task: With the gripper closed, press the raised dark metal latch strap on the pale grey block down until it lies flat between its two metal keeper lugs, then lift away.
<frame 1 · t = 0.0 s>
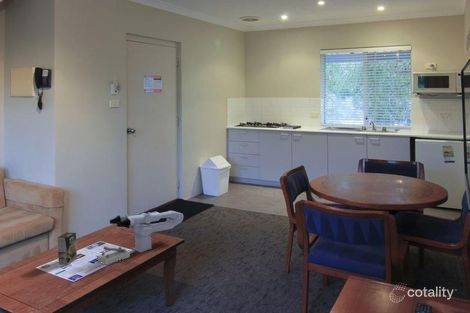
hand: (113, 223, 234), 22 cm above the table, tool horizontal, fingers open, 7 cm apart
latch block: (113, 258, 236), on the table
strap: (114, 249, 236), point 6 cm above the table, hinge at 20.0°
coffee box: (68, 261, 232), on the table
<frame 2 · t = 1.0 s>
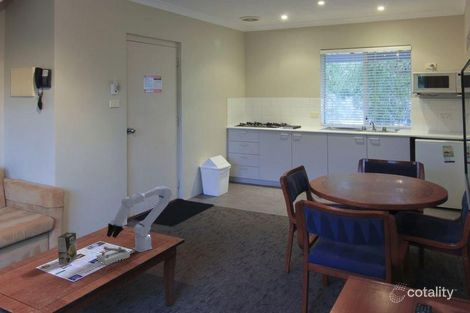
hand: (111, 236, 237), 13 cm above the table, tool tilted 30°, fingers open, 7 cm apart
nothing on the table moved.
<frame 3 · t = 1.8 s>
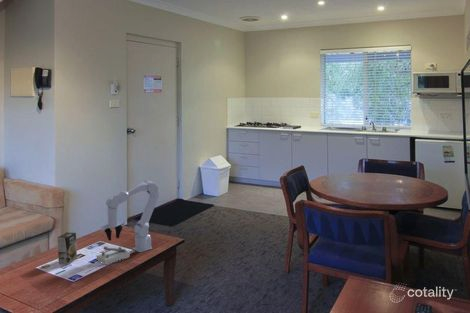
hand: (113, 239, 239), 10 cm above the table, tool pointing down, fingers open, 5 cm apart
nothing on the table moved.
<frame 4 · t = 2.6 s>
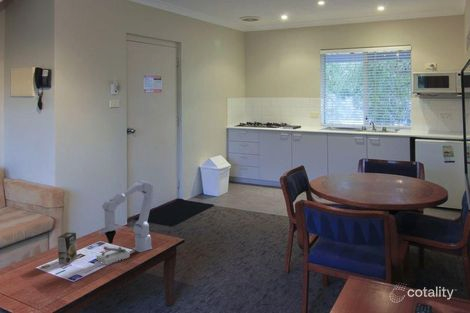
hand: (110, 243, 235), 10 cm above the table, tool pointing down, fingers closed
nothing on the table moved.
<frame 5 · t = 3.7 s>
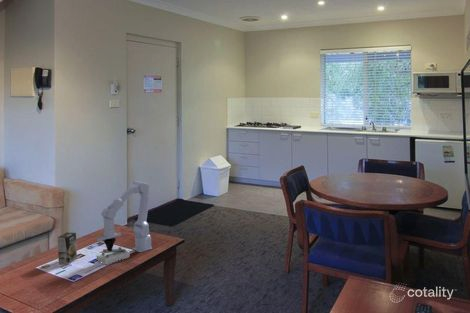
hand: (109, 250, 234), 6 cm above the table, tool pointing down, fingers closed
strap: (113, 250, 236), point 5 cm above the table, hinge at 12.0°, touching gripper
everything else where it was.
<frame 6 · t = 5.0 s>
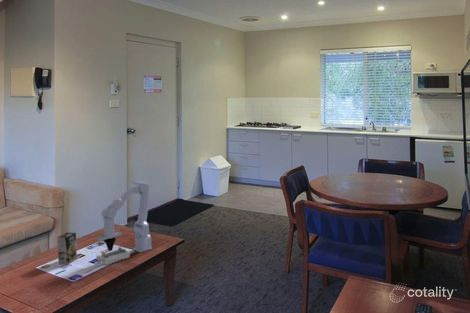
hand: (110, 250, 234), 6 cm above the table, tool pointing down, fingers closed
strap: (113, 252, 236), point 4 cm above the table, hinge at -1.0°, touching latch block
everything else where it was.
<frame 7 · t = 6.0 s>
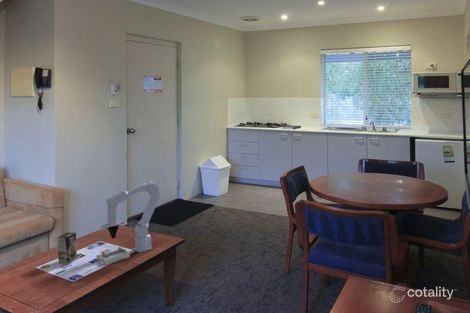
hand: (113, 237, 242), 10 cm above the table, tool pointing down, fingers closed
nothing on the table moved.
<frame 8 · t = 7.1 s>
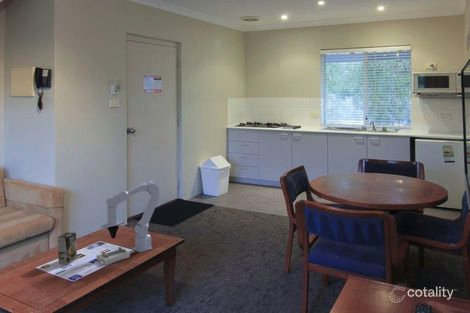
hand: (113, 237, 242), 10 cm above the table, tool pointing down, fingers closed
nothing on the table moved.
at the end: strap at -1° (first picture: +20°); coffee box moved 0.2 cm from its start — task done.
